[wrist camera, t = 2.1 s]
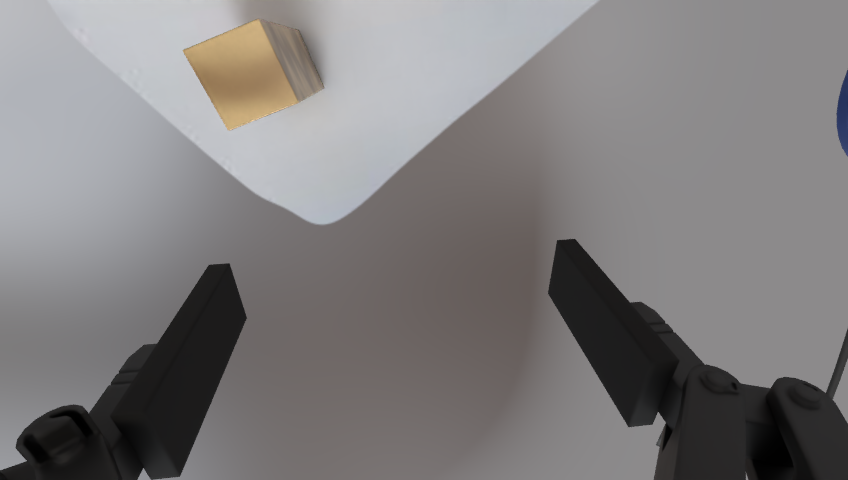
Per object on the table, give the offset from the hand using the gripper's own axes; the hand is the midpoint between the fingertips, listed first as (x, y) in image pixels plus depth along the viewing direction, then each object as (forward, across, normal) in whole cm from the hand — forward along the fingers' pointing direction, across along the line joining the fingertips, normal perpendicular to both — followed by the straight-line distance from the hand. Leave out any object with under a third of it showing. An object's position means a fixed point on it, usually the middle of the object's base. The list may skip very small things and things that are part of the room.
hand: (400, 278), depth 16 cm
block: (+26, +9, -5) cm, 28 cm away
